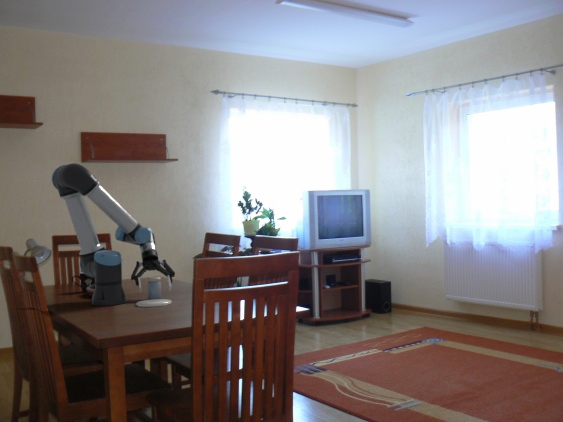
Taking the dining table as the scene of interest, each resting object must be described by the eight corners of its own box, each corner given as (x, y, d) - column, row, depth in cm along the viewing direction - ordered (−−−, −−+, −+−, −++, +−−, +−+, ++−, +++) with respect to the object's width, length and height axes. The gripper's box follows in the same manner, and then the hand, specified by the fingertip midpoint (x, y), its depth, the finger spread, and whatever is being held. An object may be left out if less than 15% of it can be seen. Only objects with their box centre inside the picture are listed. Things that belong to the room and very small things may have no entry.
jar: (150, 300, 275) (149, 278, 275) (145, 299, 281) (145, 277, 281) (163, 299, 278) (163, 277, 278) (159, 297, 284) (158, 276, 284)
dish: (117, 290, 319) (117, 280, 319) (120, 298, 290) (119, 287, 290) (86, 292, 314) (86, 282, 314) (86, 300, 285) (85, 290, 285)
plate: (142, 308, 255) (142, 305, 255) (132, 304, 268) (132, 301, 268) (176, 304, 262) (176, 302, 262) (164, 300, 275) (164, 298, 275)
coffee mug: (99, 290, 320) (99, 271, 320) (93, 292, 312) (92, 273, 311) (78, 290, 321) (78, 271, 321) (71, 293, 313) (70, 273, 313)
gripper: (174, 257, 299) (181, 291, 285) (122, 261, 290) (127, 296, 276) (176, 247, 294) (183, 281, 280) (123, 250, 285) (128, 286, 271)
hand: (155, 289), depth 278 cm, fingers open, 13 cm apart
